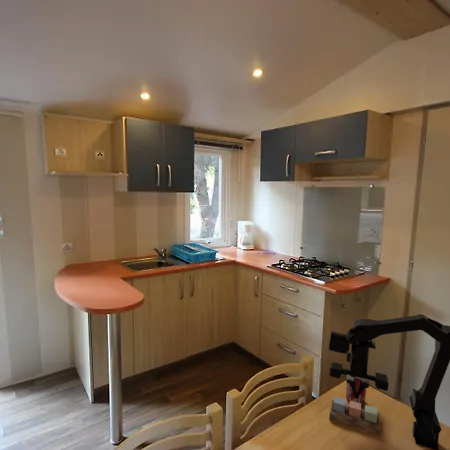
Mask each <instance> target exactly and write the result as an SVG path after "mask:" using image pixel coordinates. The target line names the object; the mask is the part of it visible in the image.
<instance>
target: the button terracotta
mask: <svg viewBox="0 0 450 450" xmlns="http://www.w3.org/2000/svg"><path fill="white" fill-rule="evenodd" d="M348 405H349V415H351V416H355V417H358V418H360V414H361V408H362V404H361V403H357V402H354V401H349V403H348Z"/></svg>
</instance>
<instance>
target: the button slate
mask: <svg viewBox="0 0 450 450" xmlns="http://www.w3.org/2000/svg"><path fill="white" fill-rule="evenodd" d="M333 400H334V406H333V410H335V411H338V412H341V413H344V412H345V404H346V401H347V398H342V397H338V396H336V395H335V396H334V398H333Z"/></svg>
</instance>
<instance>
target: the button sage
mask: <svg viewBox="0 0 450 450" xmlns="http://www.w3.org/2000/svg"><path fill="white" fill-rule="evenodd" d="M364 409H365V417H364V419H365V420H368V421H371V422H374V423H377V413H378V408H377V407H374V406H371V405H368V404H364Z"/></svg>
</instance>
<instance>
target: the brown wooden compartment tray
mask: <svg viewBox="0 0 450 450" xmlns="http://www.w3.org/2000/svg"><path fill="white" fill-rule="evenodd" d="M333 406H334V399H332V400H331V405H330V410H329V419H328V420H329V421H331V422H336V423H339V424H343V425H345V426H348V427H351V428H354V429H358V430H361V431H365V432H368V433H371V434H374V435H377V436H380V429H381V428H380V413H379V412H377V423H374V422H371V421H368V420H365V419H364V417H365V408H362V407H361V414H360V418H358V417H355V416H351V415H349V403H345V412H344V413H341V412H338V411H335V410H333Z"/></svg>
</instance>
